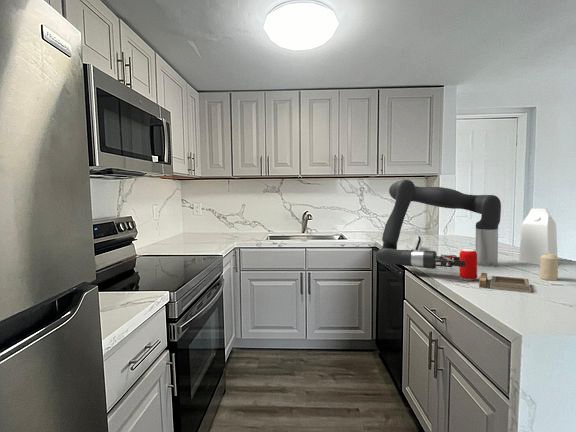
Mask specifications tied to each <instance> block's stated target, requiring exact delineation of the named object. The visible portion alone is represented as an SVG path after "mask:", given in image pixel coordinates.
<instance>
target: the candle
mask: <svg viewBox="0 0 576 432" xmlns="http://www.w3.org/2000/svg"><path fill="white" fill-rule="evenodd" d="M558 265H559V258H558V256H557V257H556V256H555V255H554V254H553V255H552V254H551V253H547V254H545V255H542V256H541V257H540V265H539V279H540V280H545V281H558V273H559V270H558V269H559V267H558Z"/></svg>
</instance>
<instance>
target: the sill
mask: <svg viewBox="0 0 576 432" xmlns="http://www.w3.org/2000/svg"><path fill="white" fill-rule="evenodd" d="M487 282H488V273H487V272H481V274H480V277H479V281H478V287H479V289H480V288H482V289H486V287H487Z"/></svg>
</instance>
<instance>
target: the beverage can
mask: <svg viewBox="0 0 576 432" xmlns="http://www.w3.org/2000/svg"><path fill="white" fill-rule="evenodd" d="M459 257H460V261H465V267H459V279H461V280H463V281H470V282H471V281H475V280H476V279H477V278H478V265H477V253H476V249H472V248H463V249H461V250H460V252H459Z"/></svg>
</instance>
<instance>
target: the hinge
mask: <svg viewBox="0 0 576 432" xmlns="http://www.w3.org/2000/svg"><path fill="white" fill-rule="evenodd" d="M423 242H424V240H423V237H422V236H420V235H417V234H414V235H412V236H411V239H410V242H409V243H408V244H407V245H406V249H407V250H421V248H422V244H423Z"/></svg>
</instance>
